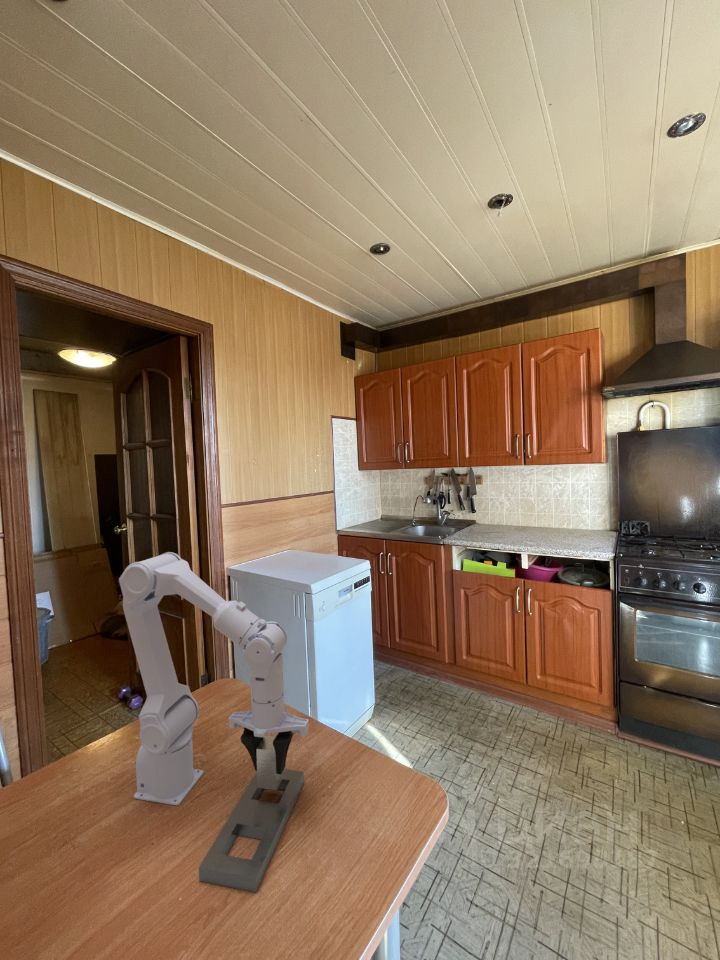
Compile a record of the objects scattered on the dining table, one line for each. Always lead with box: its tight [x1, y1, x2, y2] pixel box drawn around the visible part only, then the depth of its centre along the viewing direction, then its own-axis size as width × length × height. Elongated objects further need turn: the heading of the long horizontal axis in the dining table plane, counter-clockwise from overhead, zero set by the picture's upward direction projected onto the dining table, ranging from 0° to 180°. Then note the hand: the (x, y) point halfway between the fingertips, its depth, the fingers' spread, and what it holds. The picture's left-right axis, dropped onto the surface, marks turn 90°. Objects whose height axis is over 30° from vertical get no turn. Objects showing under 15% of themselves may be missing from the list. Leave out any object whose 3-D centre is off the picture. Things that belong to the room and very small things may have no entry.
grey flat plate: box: [198, 768, 305, 893], centre depth 67 cm, size 9×20×2 cm, turn 168°
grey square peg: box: [256, 735, 284, 791], centre depth 72 cm, size 4×4×7 cm
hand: (270, 768), depth 71 cm, fingers closed on grey square peg, 4 cm apart
